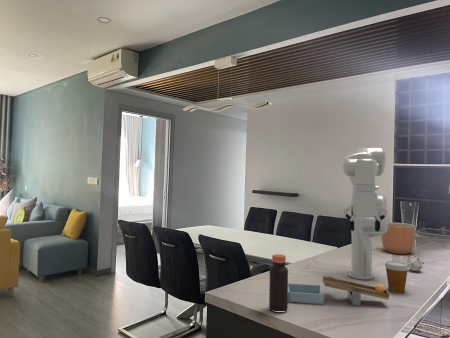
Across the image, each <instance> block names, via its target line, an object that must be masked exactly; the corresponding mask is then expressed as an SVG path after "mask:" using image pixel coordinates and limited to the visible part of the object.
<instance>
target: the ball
mask: <svg viewBox="0 0 450 338" xmlns="http://www.w3.org/2000/svg"><path fill="white" fill-rule="evenodd" d="M374 287H375V290H376V291H377V292H381V293H384V292H385V288H386V287H385V286H384V284H381V283H379V284H378V283H377V284H376V285H375V286H374Z"/></svg>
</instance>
